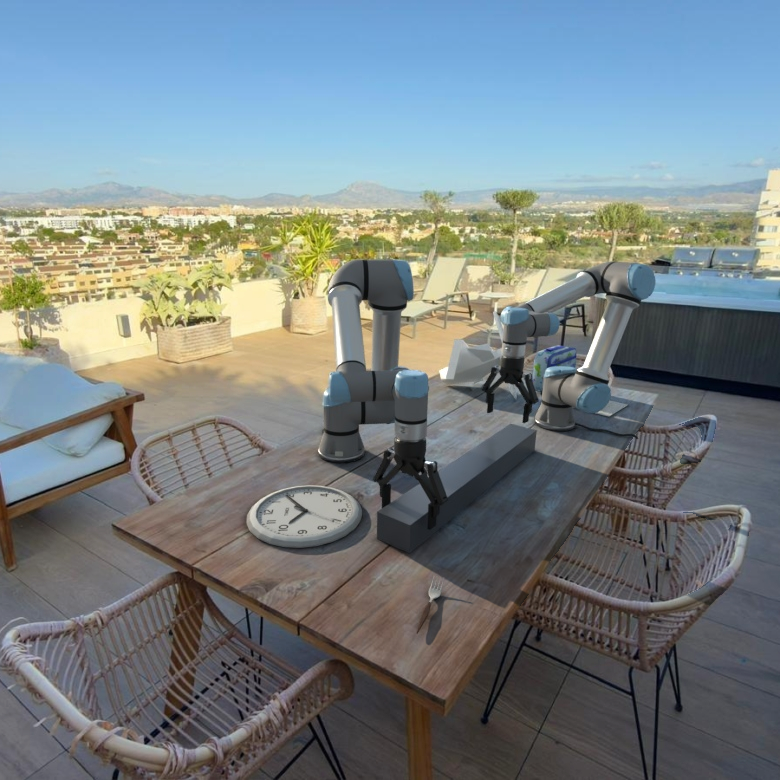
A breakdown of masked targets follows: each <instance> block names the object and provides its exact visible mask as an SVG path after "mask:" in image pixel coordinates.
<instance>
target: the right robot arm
mask: <svg viewBox="0 0 780 780" xmlns="http://www.w3.org/2000/svg"><path fill="white" fill-rule="evenodd" d="M656 281H657V280H656V275H655V271H654V270H653V269H652V268H651V267H650V266H649V265H648V264H645V263H639V262H628V261H627V262H625V261H616V260H615V261H614V260H610V261H606V262H605V261H604V262H602V263H598V264H597V265H594V266H592V267H591V266H590V267H589V268H586V269H584V270H583V271H581V272H579V273H577V274H576V277H575V278H573V279H571V280H568V281H567V282H565V283H562V284H561V285H558V286H557V287H555V288H552V289H551V290H548V291H546V292H544V293H542V294H540V295H539V296H536V297H534V298H533V299H531V300H528V301H526V302H524V303H522V304H520V305H518V306H514V305H512V306H511V305H510V306H506V307H505V308H503V310H502V311H501V313H500V321H501V324H502V326H503V342H502V341H501V348H502V356H501V364H500V366H499V367H498V366H495V367H492V369H491V372H490V373H489V374H488V377H487V379H486V380H485V382H484V384H483V385H482V387H481V392H484V393H485V394H486V395H485V403H486V404H487V405H486V407H487V408H486V413H487V414H490V413H493V412H494V403H495V393H494V391H495V390H497V389H498V388H499V387H500V386H501V385H502V384H503V383H505V384H507V383H510V384H512V385H514V387H516V388H517V389H518V391H519V393H520V394H521V396H522V398H523V399H524V402H525V403H524V404H523V413H522V424H526V423H528V422H529V420H530V415H531V414H532V412H533V406H534V405H536V404H537V403H539V402H540V399H539V396H538V394H537V393H538V392H537V391H536V390H535V387H534V384H533V381H532V376H533V373H531V372H529V373H524V367H525V356H526V349H527V348H526V346H527V339H528V338H539V337H550V336H554V335H556V334H557V333H558V332H559V330H560V324H561V321H560V319H559V316H558V315H557V314H555V312H557V311H559V310H561V309H562V308H565V307H567V306H569V305H570V304H573V303H575V302H577V301H580V300H581V299H583V298H591V297H593V296H595V295H599V294H600V295H601V294H602V295H603V294H604V295H605V296H604V297H605V300H606V301H607V302H606V306H605V308H604V311H603V314H602V316H601V318H600V321H599V323H598V326H597V329H596V331H595V334H594V337H593V340H592V342H591V345H590V347H589V349H588V351H587V352H588V353H587V355H586V357H585V360H584V363H583V365H582V366H581V367H579V368H576V367H575V368H574V367H567V366H556V367H549V368H547V369H546V370H545V374H544V380H543V391H542V393H541V402H540V405H539V407H538V409H536V413H535V416H534V424H535V425H536V426H537V427H539V428H542V429H544V430H549V431H556V432H567V431H572V430H574V429H575V428H576V426H578V427H581V428H583V429H586V430H589V431H594V432H604V433H608V434H612V435H615V436H618V437H633V438H634V439H636V440H639V437H638V435H636V434H634V433H618V432H615V431H613V430H610V429H609V430H608V429H604V428H594V427H589V426H586V425H584V424H581V423H577V422H576V418H575V417H576V416H575V413H574V409H576V408H577V409H576V410H578V411H579V412H583V413H587V414H596V413H597V412H599V411H600V410H602V409H603V408H604V407H605V406H606V405H607V404H608V402H609V400H610V401H611V398H612V390H611V387H610V386H609V382H610V378H609V375H608V373H609V370H610V367H611V365H612V364H613V363H612V362H613V360H614V358H615V356H616V353H617V350H618V348H619V345H620V342H621V341H622V337H623V336H624V333H625V330H626V327H627V325H628V322H629V320H630V317H631V314H632V312H633V310H635V309H637V308H638V307H640V305H641V303H642V301H643V300H646V299H649V297H651V296H652V295H653V293H654V291H655V288H656ZM498 374H499V375H500V377H499V378H497V380H496V381H495V379H496V377H497V375H498ZM522 378H524V380H525V383H526V386H527V389H528V391H527V389H526V387H525V386H524V382H523V381H522ZM494 381H495V382H494ZM493 382H494V383H493Z"/></svg>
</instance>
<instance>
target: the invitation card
mask: <svg viewBox="0 0 780 780" xmlns="http://www.w3.org/2000/svg"><path fill="white" fill-rule="evenodd" d="M628 406H629V404H627V403H623V402H618V401H614V400H611V399H610V400H609V402H608V404H607V405H606V406H605V407H604V408H603V409H602V410H600V411H599V412H597V413H595V414H596V415H600V416H604V417H608V418H609V417H611V416H613V415H614V414H616V413H617V412H619V411H621V410H623V409H624V408H626V407H628ZM575 410H578V409H577V408H575Z"/></svg>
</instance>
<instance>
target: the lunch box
mask: <svg viewBox="0 0 780 780" xmlns="http://www.w3.org/2000/svg"><path fill="white" fill-rule="evenodd" d="M576 362H577V348H576V347H571V346H565V345H553V346H550V347H546V348H545V349H542V350H539V351H538V352H537V353H536V354H535V356H534V358H533V365H532V381H533V384H534V387H535V390H536V393H541V394H542V391H543V380H544V374H545V370H546V369H547V368H549V367H556V366H567V367H574V368H576V364H577V363H576Z"/></svg>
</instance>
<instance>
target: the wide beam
mask: <svg viewBox="0 0 780 780" xmlns="http://www.w3.org/2000/svg"><path fill="white" fill-rule="evenodd" d="M537 432H538V430H537V429H533V428H530V427H525V426H521V425H517V424H513V423H509V424H508V425H506V426H505V427H503V428H502V429H500V430H499V431H497V432H496V433H494V434H493V435H491V436H489V437H487V439H485V440H483V441H482V442H480V443H479V444H477V445H476V446H473V448H471V449H469V450H468V451H467V452H465V453H464V454H462V455H460V456H459V457H458V458H456V459H455V460H453V461H451V462H450V463H449V464H447V465H446V466H444V467H442V468H441V469H440V470H438V473H439V476H440V478H441V481H442V484H443V487H444V489H445V492H446V495H447V498H448V501H447V502H445V503H444V504H443V505H440V514H439V515H438V516H437V518H436V526H435V527H433V528H432V529H431V530H429V529H427V526H428V504H429V503H431V502H430V500H429V498H428V497H427V495H426V493H425V491H424V490H423V488H422V486H421V485H420V483H419V484H417V485H415V486H414V487H412V488H410V489H409V490H408V491H406V492H405V493H403V494H402V495H400V496H398V497H396V498H395V499H394V500H393V501H391V503H390V504H388V505H387V506H385V507H383V508H382V507H381V508H380V509H379V510H378V511H376V539H377V540H379V541H381V542H383V543H385V544H387V545H389V546H392V547H394V548H397V549H399V550H400V551H403V552H406V553H407V554H411V553H412V552H413V551H414V550H415V549H417V548H418V547H419V546H421V544H423V543H424V542H425V541H426V540H428V539H429V538H431V536H433V535H434V534H435V533H436V532H437V531H438V530H440V529H441V528H442V527H443V526H445V525H446V524H447V523H448V522H450V521H451V520H452V519H454V517H455V516H457V515H458V514H459V513H460V512H462V511H463V510H464V509H465V508H466V507H468V506H469V505H471V503H472V502H474V501H475V500H476V499H477V498H478V497H480V496H481V495H482V494H484V493H485V492H486V491H487V490H489V488H491V487H492V486H493V485H495V484H497V482H498V481H500V479H502V478H503V477H505V476H506V475H507V474H508V473H509V472H510V471H512V470H513V469H514V468H515V467H516V466H518V465H519V464H521V462H522V461H524V460H525V459H527V457H529V456H530V455H531V454H532V453H534V451H535V449H536V440H537Z"/></svg>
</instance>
